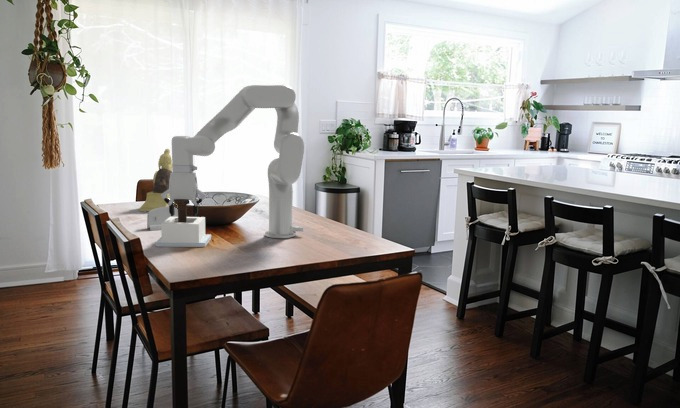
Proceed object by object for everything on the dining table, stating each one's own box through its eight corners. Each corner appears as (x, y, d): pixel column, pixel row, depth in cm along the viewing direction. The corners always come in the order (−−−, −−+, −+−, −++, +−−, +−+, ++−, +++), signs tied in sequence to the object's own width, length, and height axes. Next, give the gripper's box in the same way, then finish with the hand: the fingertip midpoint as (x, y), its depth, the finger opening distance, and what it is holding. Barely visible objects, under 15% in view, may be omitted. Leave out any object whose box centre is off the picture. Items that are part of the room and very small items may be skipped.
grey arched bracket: (149, 230, 224) (146, 207, 225) (147, 232, 228) (144, 209, 229) (189, 227, 233) (186, 204, 234) (186, 228, 237) (183, 206, 238)
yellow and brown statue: (164, 202, 292) (162, 146, 287) (187, 203, 291) (186, 147, 286) (139, 211, 265) (137, 150, 260) (165, 212, 263) (163, 151, 258)
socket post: (211, 238, 214) (211, 217, 213) (205, 246, 200) (204, 224, 199) (164, 237, 213) (164, 216, 211) (155, 246, 199) (154, 223, 198)
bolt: (181, 240, 202) (180, 201, 200) (172, 238, 205) (171, 199, 203) (193, 237, 207) (192, 199, 205) (184, 235, 210) (183, 197, 207)
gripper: (208, 168, 206) (208, 214, 209) (161, 167, 205) (162, 213, 208) (204, 170, 199) (205, 217, 202) (156, 170, 197) (157, 217, 200)
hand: (183, 215), depth 205 cm, fingers open, 7 cm apart
